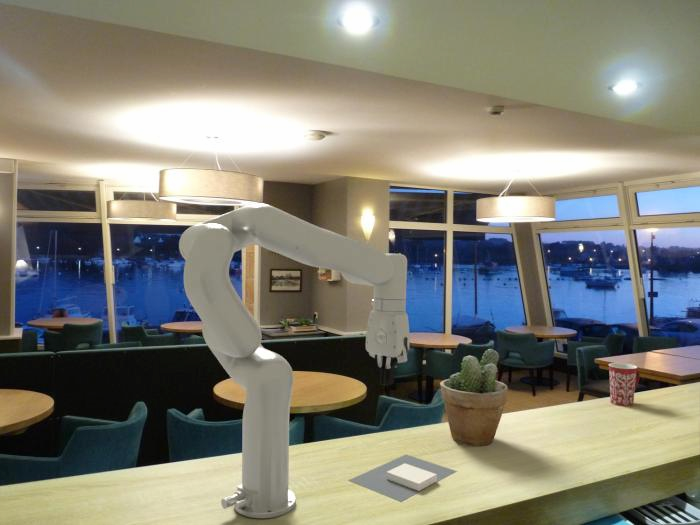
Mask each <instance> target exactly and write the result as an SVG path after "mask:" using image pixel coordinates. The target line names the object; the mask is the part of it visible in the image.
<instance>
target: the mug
mask: <svg viewBox="0 0 700 525" xmlns="http://www.w3.org/2000/svg"><path fill="white" fill-rule="evenodd" d="M608 370H609V372H608V373H609V375H608V376H609V394H610V395H609V396H610V397H609V399H610V403H611V404H613V405H616V406H621V407H632V406H634V400H635V391H636V389H637V387H638V385H639V382H640V371H639V369H638V366H636V365H634V364H630V363H624V362H612V363H611V362H610V363H608Z"/></svg>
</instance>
